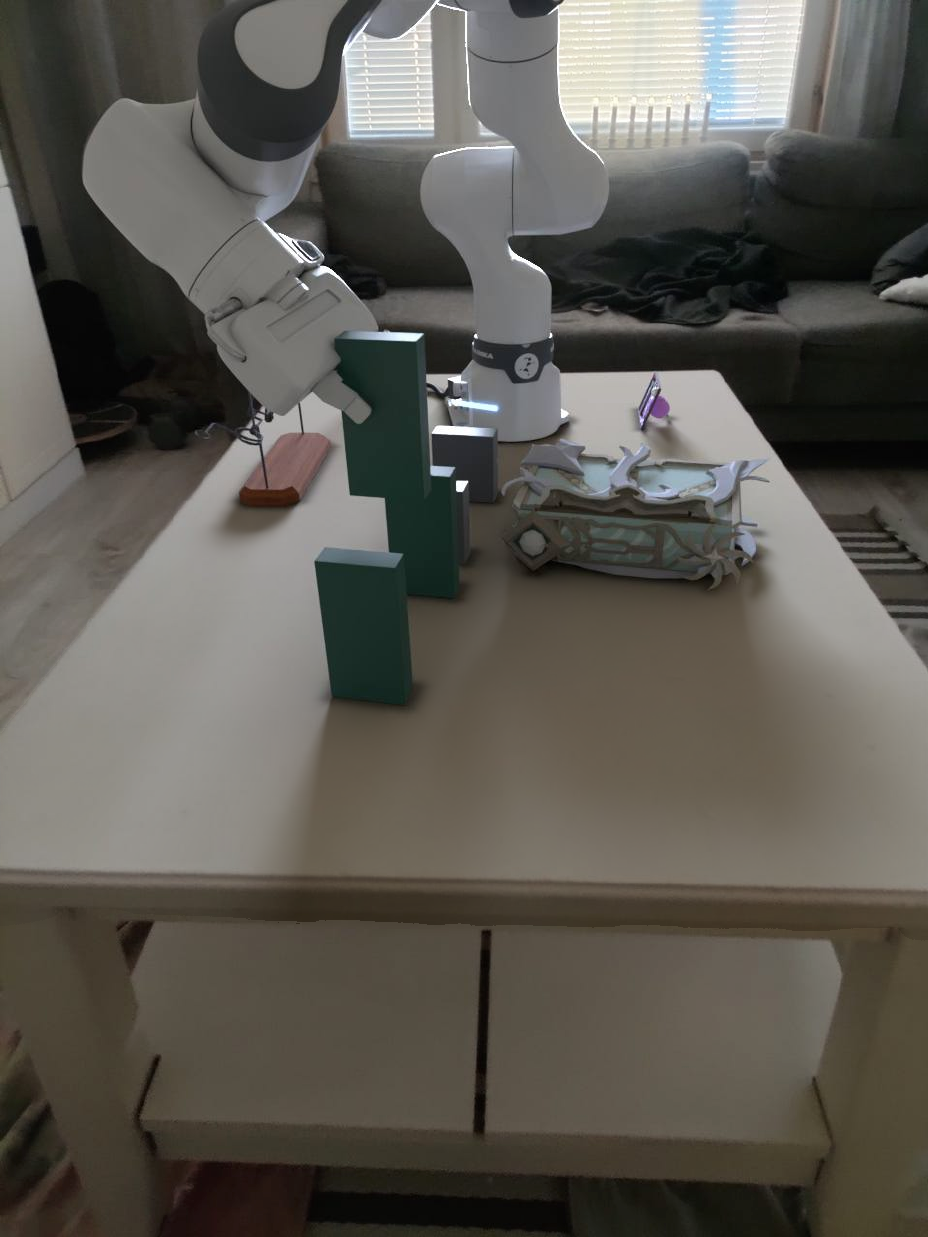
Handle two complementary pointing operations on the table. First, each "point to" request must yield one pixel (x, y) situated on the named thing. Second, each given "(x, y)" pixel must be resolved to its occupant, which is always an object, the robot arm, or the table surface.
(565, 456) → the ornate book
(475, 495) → the grey books
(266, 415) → the figure sculpture
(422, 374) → the green book
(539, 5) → the robot arm
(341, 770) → the table surface
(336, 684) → the green books
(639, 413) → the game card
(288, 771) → the table surface
